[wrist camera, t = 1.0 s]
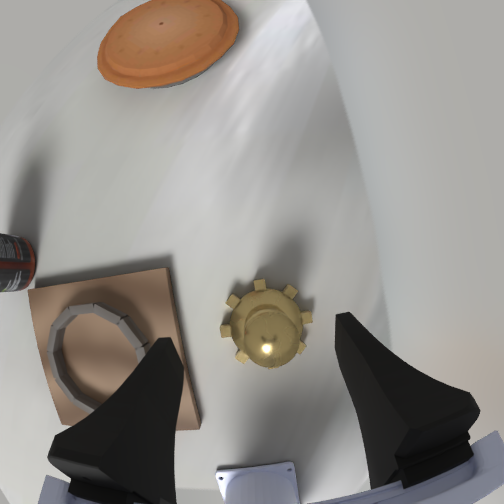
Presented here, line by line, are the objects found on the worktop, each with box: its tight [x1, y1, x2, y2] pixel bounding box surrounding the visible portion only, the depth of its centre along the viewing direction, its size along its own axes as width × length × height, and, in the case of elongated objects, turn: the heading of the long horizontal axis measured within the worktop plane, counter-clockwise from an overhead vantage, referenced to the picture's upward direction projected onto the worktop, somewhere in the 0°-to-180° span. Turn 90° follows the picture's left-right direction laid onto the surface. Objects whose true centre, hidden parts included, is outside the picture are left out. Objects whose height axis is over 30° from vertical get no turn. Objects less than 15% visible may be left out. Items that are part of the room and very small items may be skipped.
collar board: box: [28, 268, 201, 431], centre depth 23 cm, size 15×16×3 cm
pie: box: [97, 0, 239, 89], centre depth 24 cm, size 15×16×5 cm
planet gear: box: [220, 279, 313, 369], centre depth 22 cm, size 8×8×7 cm
